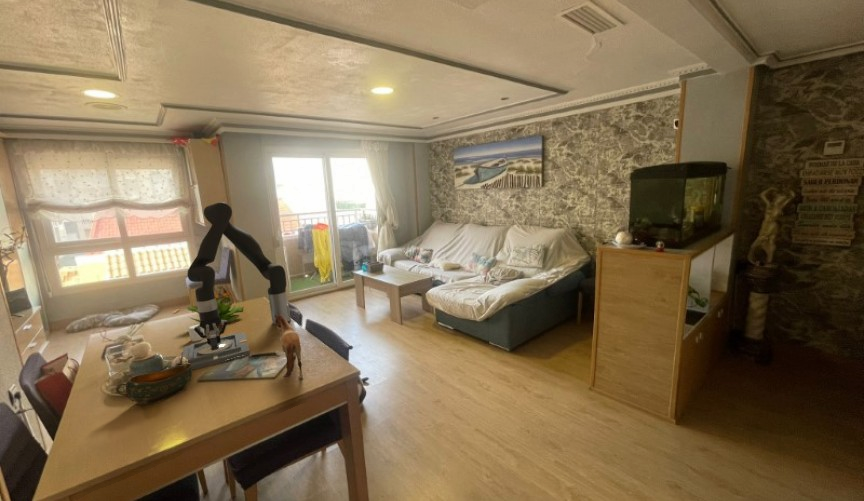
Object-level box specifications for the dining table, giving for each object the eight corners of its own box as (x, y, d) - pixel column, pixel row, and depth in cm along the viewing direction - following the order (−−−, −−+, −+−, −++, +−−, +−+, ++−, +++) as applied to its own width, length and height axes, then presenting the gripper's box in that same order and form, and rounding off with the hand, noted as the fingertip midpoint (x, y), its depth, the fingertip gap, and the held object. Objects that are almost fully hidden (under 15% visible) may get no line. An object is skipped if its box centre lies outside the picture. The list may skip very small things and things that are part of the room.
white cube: (209, 335, 184) (206, 323, 183) (199, 341, 177) (196, 328, 176) (197, 336, 185) (194, 323, 183) (186, 341, 178) (184, 329, 177)
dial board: (245, 335, 181) (244, 329, 180) (249, 354, 159) (248, 347, 158) (184, 350, 167) (183, 343, 167) (180, 373, 145) (178, 365, 145)
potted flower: (222, 332, 187) (217, 301, 184) (179, 334, 188) (173, 303, 185) (247, 315, 212) (243, 287, 209) (209, 317, 213) (204, 290, 209)
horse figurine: (280, 357, 154) (274, 313, 151) (299, 352, 158) (293, 309, 154) (285, 392, 127) (276, 339, 123) (307, 385, 130) (300, 334, 126)
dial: (231, 338, 172) (229, 324, 171) (233, 349, 160) (230, 334, 159) (198, 347, 165) (195, 332, 164) (197, 358, 153) (193, 342, 152)
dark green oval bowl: (136, 392, 132) (130, 368, 131) (196, 381, 139) (192, 357, 137) (118, 413, 120) (112, 386, 119) (185, 399, 127) (180, 374, 125)
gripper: (225, 303, 166) (231, 337, 169) (190, 310, 159) (197, 345, 162) (225, 307, 159) (232, 342, 163) (189, 314, 152) (196, 351, 156)
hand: (214, 343), depth 162 cm, fingers closed on dial, 2 cm apart
